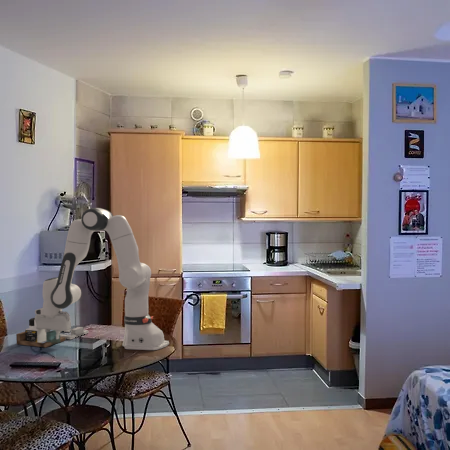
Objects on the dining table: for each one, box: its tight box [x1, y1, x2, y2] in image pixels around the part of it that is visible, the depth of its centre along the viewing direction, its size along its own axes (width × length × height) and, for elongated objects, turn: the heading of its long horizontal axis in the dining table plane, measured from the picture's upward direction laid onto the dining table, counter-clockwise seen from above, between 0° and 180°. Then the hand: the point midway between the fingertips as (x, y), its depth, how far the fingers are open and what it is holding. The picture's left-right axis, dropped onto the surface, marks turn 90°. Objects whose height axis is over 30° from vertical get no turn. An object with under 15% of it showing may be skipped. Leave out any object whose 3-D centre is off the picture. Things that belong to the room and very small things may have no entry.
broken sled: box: [60, 326, 89, 340], centre depth 249 cm, size 19×14×4 cm
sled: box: [15, 330, 66, 348], centre depth 235 cm, size 18×14×6 cm
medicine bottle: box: [24, 317, 46, 343], centre depth 236 cm, size 7×7×12 cm
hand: (53, 338), depth 232 cm, fingers open, 3 cm apart
